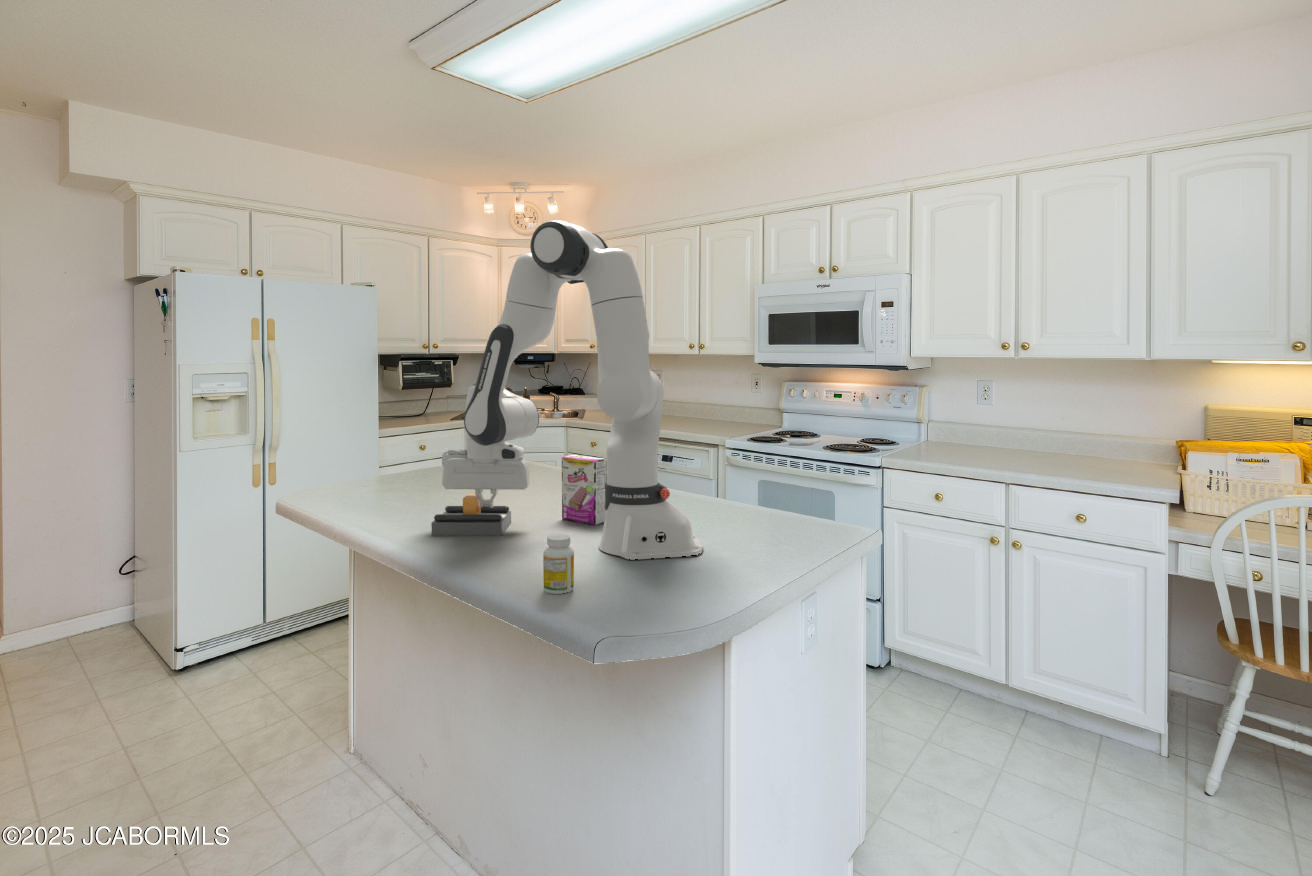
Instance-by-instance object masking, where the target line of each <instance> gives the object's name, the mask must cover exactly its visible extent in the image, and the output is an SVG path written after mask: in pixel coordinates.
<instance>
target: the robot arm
mask: <svg viewBox="0 0 1312 876" xmlns="http://www.w3.org/2000/svg"><path fill="white" fill-rule="evenodd" d="M565 283H568V284H569V285H573V284H578V283H579V284H581V283H585V286H586V287H587V289H588V294H589V300H590V308H591V313H592V319H593V325H594V330H595V336H596V343H597V344H596V345H597V379H598V380H597V381H598V387H597V391H596V393H597V394H596V398H597V403H598V405H599V408H600V409H601V411H602V412H603V413H604V414H605V415H606V416H608V417H609V418H612V419H611V420H612V421H611V426H610V433H609V438H608V441H607V445H606V459H607V482H606V483H605V487H604V507H605V520H604V523H603V528H602V533H601V536H600V537H601V538H600V541H599V545H598V549H599V550H600V551H602V552H603V553H606V554H610V555H612V556H613V555H614V556H618V557H622V558H623V559H625V560H629V559H630V561H636V560H635V559H638V560H651V558H654V559H666V558H665V557H670V558H682V556H686V557H692V556H691V555H697V554H699V553H700V552H701V553H703V550H702V548H703V543H702V541H701V539H700V538H698V537H696V536H695V535H693V530H692V529H693V528H692V525H691V522H690V520H689V518H688V517H687V515H686V514H684V513H683V512H682V511H680V510H679V509H678V508H676V507H675V506H674V505H673V504H671V503H670V502H669V501H667V499H669V497H670V495H671V492H670V489H668V488H667V486H665V485H664V484H661V483H660V482H658V481H659V480H658V479H659V478H658V473H659V466H658V465H659V443H660V435H661V426H662V418H663V417H662V416H663V407H664V395H665V394H664V391H665V390H664V389H665V388H664V385H663V383H662V381H661V379H660V377H659V376H658V375H657V374H656V372H653V371H652V370H651V368H650V349H649V347H650V346H649V345H650V344H649V340H650V333H649V326H648V320H647V313H646V308H645V302H644V295H643V290H642V286H641V282H640V278H639V275H638V271H637V268H636V266H635V262H634V260H633V257H632V256H631V255H630V253H629V252H627V251H626V250H624V249H621V248H618V247H617V248H616V247H609V246H608V245H607V243H606V242H605V241H604V240H603V239H602V237H600V236H599V235H598V234H596V233H593V232H591V231H589V230H587V229H586V228H585V227H582V226H580V225H578V224H577V225H576V224H574V223H569V222H567V221H564V220H548V221H545V222H543V223H542V224H540V225H538V227H537V228H535V230H534V232H533V233H532V236H531V240H530V252H527V253H523V254H521V255H520V256H518V257H517V258H516V259H515V262H514V264H513V268H512V270H511V273H510V276H509V281H508V285H507V288H506V289H507V290H506V295H505V303H504V307H503V311H502V314H501V316H500V319H499V321H498V323H497V325H496V327H494V328H493V330H492V331H491V332H490V335H489V337H488V340H487V343H486V345H485V349H484V353H483V356H482V360H481V364H480V369H479V372H478V375H477V379H476V383H474V384H472V385H471V386H469V388H468V390H467V394H466V399H465V400H466V401H465V402H466V403H465V412H464V414H463V415H464V416H463V426H464V429H465V430H466V432H467V433H466V449H459V450H458V449H457V450H454V449H448V450H447V451H446V452H444V453H442V456H441V465H442V467H443V471H442V479H441V480H442V481H441V484H442V487H443V488H444V489H445V490H474V494H476V496H477V498H478V499H479V501H480V508H493V506H495V504H494V500H495V499H496V496H497V495H498V493H499V490H500V491H501V490H504V491H505V490H506V491H507V490H517V491H518V490H519V491H520V490H524V491H525V490H526V489H527V488H528V487H529V486H530V483H531V477H530V469H529V465H528V461H527V460H526V458H524V456H525V449H524V447H522V446H519V445H516V444H513V443H509V442H508V441H513V440H514V441H515V440H518V439H524V438H527V437H529V436H532V435H533V434H534V433H535V432H536V430H537V429H538V426H539V424H540V413H539V410H538V408H537V405H536V404H535V403H534V402H533V401H532V400H531V399H529V398H525V397H524V396H520V395H517V394H515V393H513V392H512V391H510V390H508V389H507V388H506V384H507V381H508V377H509V374H510V373H509V372H510V369H511V366H512V364H513V363H514V361H515V360H516V358H518V356H520V355H522V354H523V352H526V351H527V350H528V349H531V348H533V347H535V346H538V345H539V344H541V343H542V342H544V341H545V340H546V339H547V338H548V337H549V336H550V334H551V332H552V329H553V326H554V322H555V316H556V308H557V302H558V296H559V292H560V289H561V288H562V286H563V285H564V284H565ZM484 490H490V491H489V492H490V494H491V497H490V499H486V498H485V497H484V496H483V494H482V493H483V492H484ZM701 553H700V554H701ZM700 554H699V555H700ZM697 556H698V555H697Z"/></svg>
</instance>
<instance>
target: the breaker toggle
mask: <svg viewBox="0 0 1312 876" xmlns="http://www.w3.org/2000/svg"><path fill="white" fill-rule="evenodd" d="M462 506H463V514H480V513H481V508H480V501H479V499H478V498H477V496H476V494H475V493H473V494H472V493H469V494H466V495H465V496H464V497H463V498H462Z"/></svg>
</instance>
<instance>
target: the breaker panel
mask: <svg viewBox="0 0 1312 876" xmlns="http://www.w3.org/2000/svg"><path fill="white" fill-rule="evenodd" d="M444 509H445V510H444V512H443V513H442V514H439V513H437V514H435V515H434V517H433V521H432V522H431V525H430V527H431V536H441V535H442V536H445V537H446V536H453V537H454V536H457V537H458V536H459V537H460V536H463V537H465V536H467V537H468V536H470V537H471V536H473V537H474V536H504V535H503V534H504V533H505V532H506V530H507V529H508V528H509V527H510V525H511V524H512V511H511V510H510V507H509V506H508V505H494V506H493V508H481V513H480V514H463V505H447V506H445V508H444Z"/></svg>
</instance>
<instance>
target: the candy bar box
mask: <svg viewBox="0 0 1312 876" xmlns="http://www.w3.org/2000/svg"><path fill="white" fill-rule="evenodd" d="M606 482H607V458H602V457H595V456H587V455H579V454H570V455H563V456H562V457H561V519H562V520H566V521H571V522H576V523H582V524H587V525H592V526H598V525H601V524H604V520H605V507H604V487H605V483H606Z"/></svg>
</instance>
